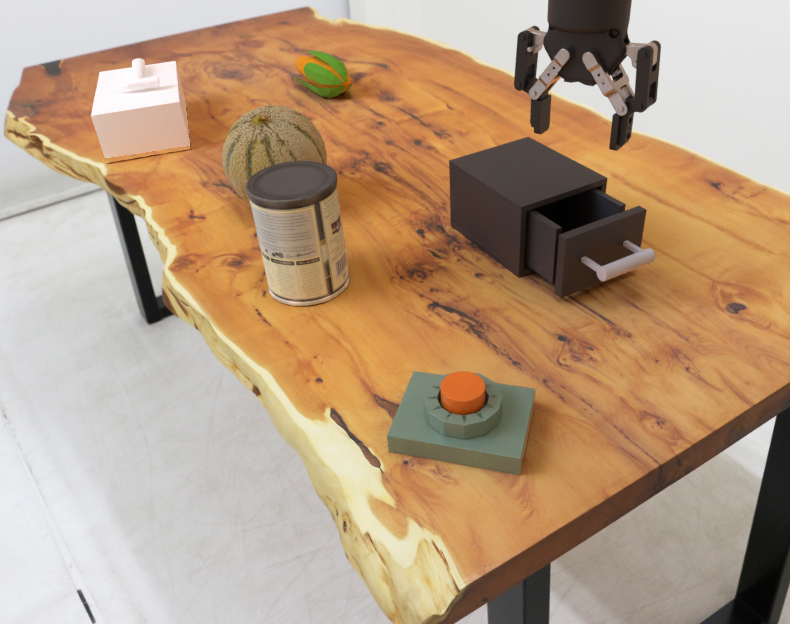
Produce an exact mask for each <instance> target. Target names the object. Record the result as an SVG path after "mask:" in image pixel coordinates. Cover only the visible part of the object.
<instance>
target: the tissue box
mask: <svg viewBox="0 0 790 624" xmlns="http://www.w3.org/2000/svg"><path fill="white" fill-rule="evenodd" d="M185 101H186V98H185V93H184V89H183V85H182V80H181V77H180V74H179V70H178V65H177V61H176V60H172V61H166V62H165V61H164V62H159V63H152V64H146V61H145V60H144V59H143V58H139V57H137V58H134V59H132V61H131V67H123V68H117V69H110V70H103V71H99V74H98V78H97V83H96V88H95V93H94V98H93V102H92V108H91V113H90V118H91V120H92V123H93V126H94V129H95V133H96V136H97V139H98V142H99V145H100V148H101V151H102V154H103V157H104V159H105V158H111V157H119V156H124V155H132V154H140V153H146V152H152V151H159V150H163V149H168V148H177V147H186V146H190V142H191V137H190V138H189V133H190V128H189V129H188V124H189V119H188V120H187V116H188V110H187V111H186V107H187V101H186V102H185Z"/></svg>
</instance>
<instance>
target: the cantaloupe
mask: <svg viewBox="0 0 790 624" xmlns="http://www.w3.org/2000/svg"><path fill="white" fill-rule="evenodd" d="M327 155H328V154H327V148H326V144H325V140H324V139H323V136H322V134H321V132H320V131H319V129H317V127H316V126H315V123H313V122H312V121H311V120H310V119H309V118H308V117H306V115H304V114H303V113H302V112H300V111H299V110H297V109H294V108H291V107H288V106H285V105H275V104H273V105H272V104H268V105H262V106H259V107H257V108H254V109H251V110H249V111H247V112H245V113H244V114H242V115H241V116H240V117H239V118H237V119H236V120H235V122H234V123H233V124H232V126H231V127H230V129H229V131H228V133H227V136H226V138H225V141H224V143H223V146H222V155H221V159H222V161H221V164H222V168H223V171H224V174H225V178H226V179H227V181H228V183H229V185H230V186H231V188H232V189H233V190H234V191H235V193H236V194H237V195H238V196H239V198H241V199H242V200H244V201H245V202H246V203H248V204H249V205H251V204H250V200H249V196H248V194H247V191H246V183H247V181H248V180H249V178H250V177H251V176H253V175H254V174H255V173H257V172H259V171H260V170H262V169H265V168H267V167H269V166H272V165H276V164H279V163H284V162H290V161H315V162H320V163H323V164H326V165H328V161H327V160H328V156H327Z"/></svg>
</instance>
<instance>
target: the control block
mask: <svg viewBox="0 0 790 624" xmlns="http://www.w3.org/2000/svg"><path fill="white" fill-rule="evenodd" d="M451 373H452V372H451ZM451 373H445V374H438V373H431V372H425V371H417V370H413V372H412V373H411V377H410V379H409V381H408V383H407V386H406V388H405V391H404V393H403V396H402V398H401V400H400V403H399V406H398V408H397V410H396V413H395V415H394V418H393V419H392V422H391V425H390V427H389V429H388V432H387V434H386V441H387V449H388V453H394V454H399V455H404V456H410V457H415V458H421V459H426V460H431V461H432V460H433V461H438V462H444V463H447V464H448V463H450V464H453V465H459V466H465V467H471V468H477V469H482V470H487V471H493V472H499V473H503V474H509V475H516V476H521V473H522V469H523V468H522V467H523V464H524V460H525V459H524V458H525V454H526V449H527V444H528V439H529V435H530V430H531V424H532V420H533V415H534V410H535V405H536V390H537V389H536V388H532V387H528V386H520V385H515V384H514V385H513V384H506V383H499V382H495V381H493V380H492V379H490V378H488V377H486V376H485V375H483V374H482V373H477V372H473V373H474V374H477V375H478V376H480V377H481V378H482V379H483V381H484V383H485V404H484V406H483V407H482V408H481V409H480V410H479V411H478V412H476V413H473V414H469V415H458V414H453V413H450V412H449V411H447V410H446V409H445V408H444V407H443V405H442V403H441V390H440V385H441V382H442V380H443V379H444V378H445V377H446V376H447V375H449V374H451Z"/></svg>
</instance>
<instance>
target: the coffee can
mask: <svg viewBox="0 0 790 624" xmlns="http://www.w3.org/2000/svg"><path fill="white" fill-rule="evenodd" d="M337 184H338V174H337V172H336V170H335V169H334V168H333V167H332V166H330V165H329V164H327V165H326V164H323V163H320V162H315V161H290V162H284V163H279V164H276V165H272V166H269V167H267V168H265V169H262V170H260V171H259V172H257V173H255V174H254V175H253V176H251V177H250V178H249V180H248V181H247V183H246V191H247V194H248V196H249V200H250V204H249V205H250V208H251V213H252V217H253V218H252V219H253V222H254V226H255V231H256V235H257V241H258V246H259V249H260V255H261V258H262V264H263V268H264V272H265V278H266V282H267V290H268V293H269V295H270V296H271V297H272V298H273V299H274V300H276V301H277V302H279V303H281V304H284V305H287V306H293V307H294V306H295V307H308V306H315V305H319V304H323V303H327V302H329V301H330V300H334V299H335V298H337V297H338V296H340V295H341V294H342V293H343V292H344V291H345V290H346V289H347V288H348V286H349V284H350V279H351V276H350V275H351V274H350V271H349V265H348V257H347V249H346V243H345V236H344V228H343V221H342V214H341V213H342V212H341V206H340V199H339V191H338V185H337Z"/></svg>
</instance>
